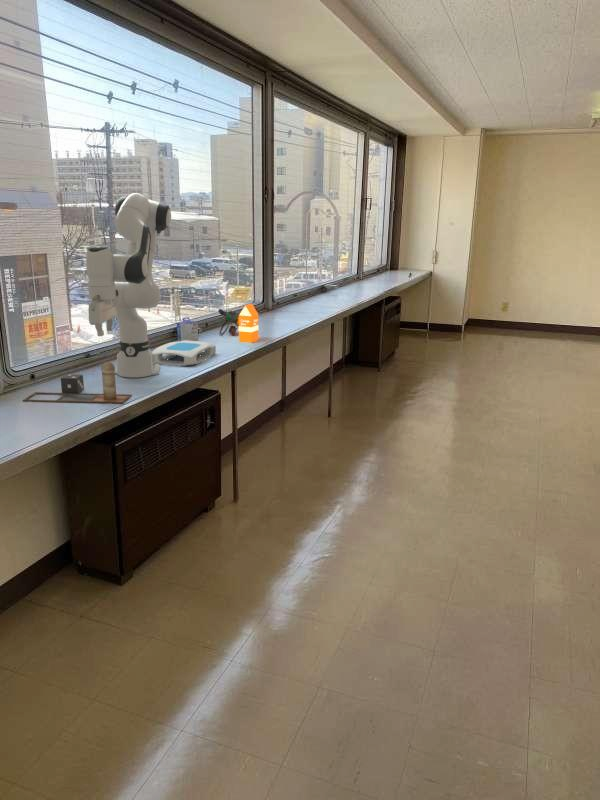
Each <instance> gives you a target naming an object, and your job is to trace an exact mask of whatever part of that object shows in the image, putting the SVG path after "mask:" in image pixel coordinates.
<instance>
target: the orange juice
mask: <svg viewBox="0 0 600 800" xmlns="http://www.w3.org/2000/svg"><path fill="white" fill-rule="evenodd" d="M238 318H239V326H238V342H239V341H240V342H239V343H243V342H250V343H249V344H253V343H252V342H254V341H256V340H258V341H259V313H258V311H257V310H256V308H255V306H254V305H253V303H249V304H246V305H244V307H243V308H242V310H241V311H240V313H239V315H238ZM256 342H257V341H256ZM254 343H255V342H254Z"/></svg>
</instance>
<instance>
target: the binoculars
mask: <svg viewBox="0 0 600 800" xmlns="http://www.w3.org/2000/svg"><path fill="white" fill-rule="evenodd" d="M217 311H218V313H219V315H221V316H223V317H224V320H225V321H224V322H223V323H222V325H221V328H220V330H219V335H220V334H221V335H222V336H223V335H225V333H226V332H227V331H228V333H229V334H230V335H231V336H233V337H234V336H235V335H236V333H237V331H238V329H239V316H236V315H234V314H233V311H232V310H230V311H224V310H223V309H222V308H219V309H218V310H217ZM226 324H227V326H226V328H225V329H224V331H223V328H224V327H225V325H226ZM232 324H235V325H232ZM221 335H220V336H221Z"/></svg>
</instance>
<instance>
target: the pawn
mask: <svg viewBox="0 0 600 800" xmlns="http://www.w3.org/2000/svg"><path fill="white" fill-rule="evenodd" d="M115 370H116V366H115V365H114V363H112V362H110V361H107V362H104V363H102V365H101V366H100V371H101V378H102V379H101V380H102V391H103V393H102V394H104V400H115V399H117V397H116V394H117V386H116V385H117V384H116V374H115Z"/></svg>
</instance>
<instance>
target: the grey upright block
mask: <svg viewBox="0 0 600 800" xmlns="http://www.w3.org/2000/svg"><path fill="white" fill-rule="evenodd" d="M182 320H183V321H182V322H177V323H176V329H177V330H176V331H177V342H178V341H185V340H187V341H199V325H198V324H199V323H198V322H197V321H194V320H191V319H190V317H188V316H187V317H186V316H185V317H182Z"/></svg>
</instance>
